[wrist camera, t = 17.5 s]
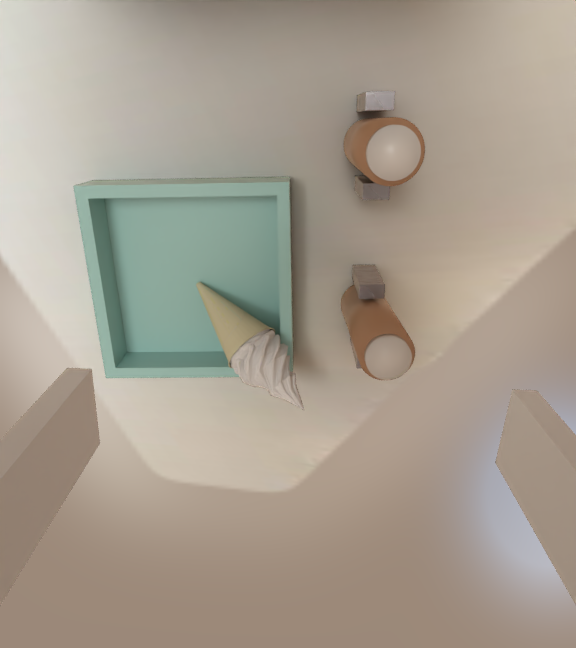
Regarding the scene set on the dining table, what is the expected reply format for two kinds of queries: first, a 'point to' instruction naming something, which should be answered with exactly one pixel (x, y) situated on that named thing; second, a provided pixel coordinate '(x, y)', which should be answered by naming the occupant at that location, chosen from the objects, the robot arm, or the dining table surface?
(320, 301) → the dining table surface
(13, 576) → the robot arm
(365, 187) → the clip row
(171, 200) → the tray
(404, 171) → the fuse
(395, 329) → the cylinder
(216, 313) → the ice cream cone
